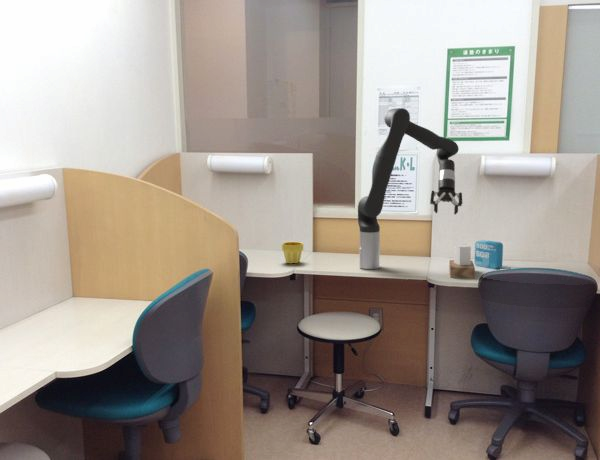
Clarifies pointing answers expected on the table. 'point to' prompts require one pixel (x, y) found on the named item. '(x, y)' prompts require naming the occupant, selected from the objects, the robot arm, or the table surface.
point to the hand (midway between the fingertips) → (445, 213)
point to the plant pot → (292, 251)
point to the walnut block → (461, 270)
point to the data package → (488, 254)
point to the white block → (462, 254)
